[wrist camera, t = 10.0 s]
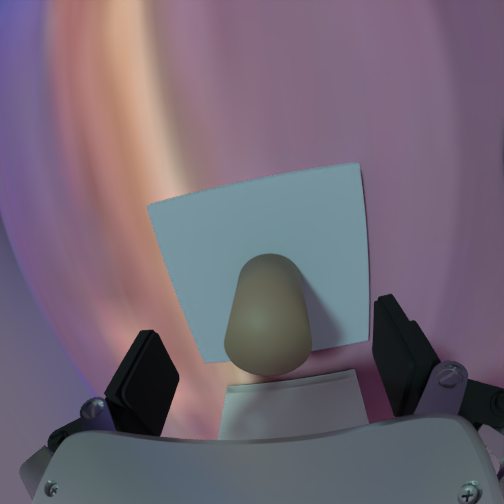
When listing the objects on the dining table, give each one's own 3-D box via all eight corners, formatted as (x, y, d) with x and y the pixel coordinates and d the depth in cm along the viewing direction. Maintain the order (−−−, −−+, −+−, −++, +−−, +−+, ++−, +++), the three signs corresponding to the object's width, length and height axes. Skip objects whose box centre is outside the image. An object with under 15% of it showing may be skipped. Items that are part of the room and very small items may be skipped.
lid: (353, 161, 14) (406, 179, 8) (364, 331, 18) (390, 401, 12) (153, 202, 16) (92, 241, 10) (207, 353, 20) (187, 423, 14)
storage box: (354, 368, 19) (379, 470, 11) (350, 430, 23) (362, 505, 14) (227, 386, 20) (209, 486, 12) (253, 442, 24) (247, 516, 16)
